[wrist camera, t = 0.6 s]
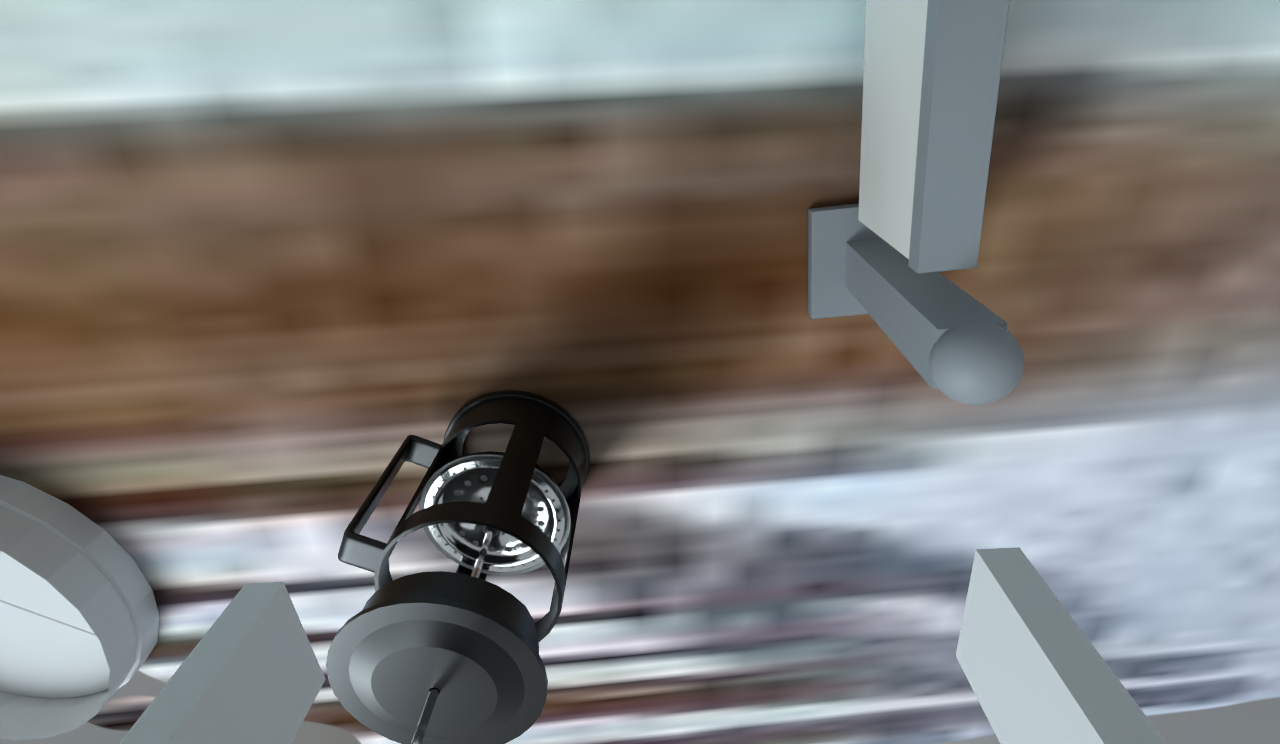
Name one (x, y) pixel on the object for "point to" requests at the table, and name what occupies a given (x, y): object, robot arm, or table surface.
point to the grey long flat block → (929, 125)
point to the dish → (64, 615)
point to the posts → (909, 308)
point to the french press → (463, 583)
